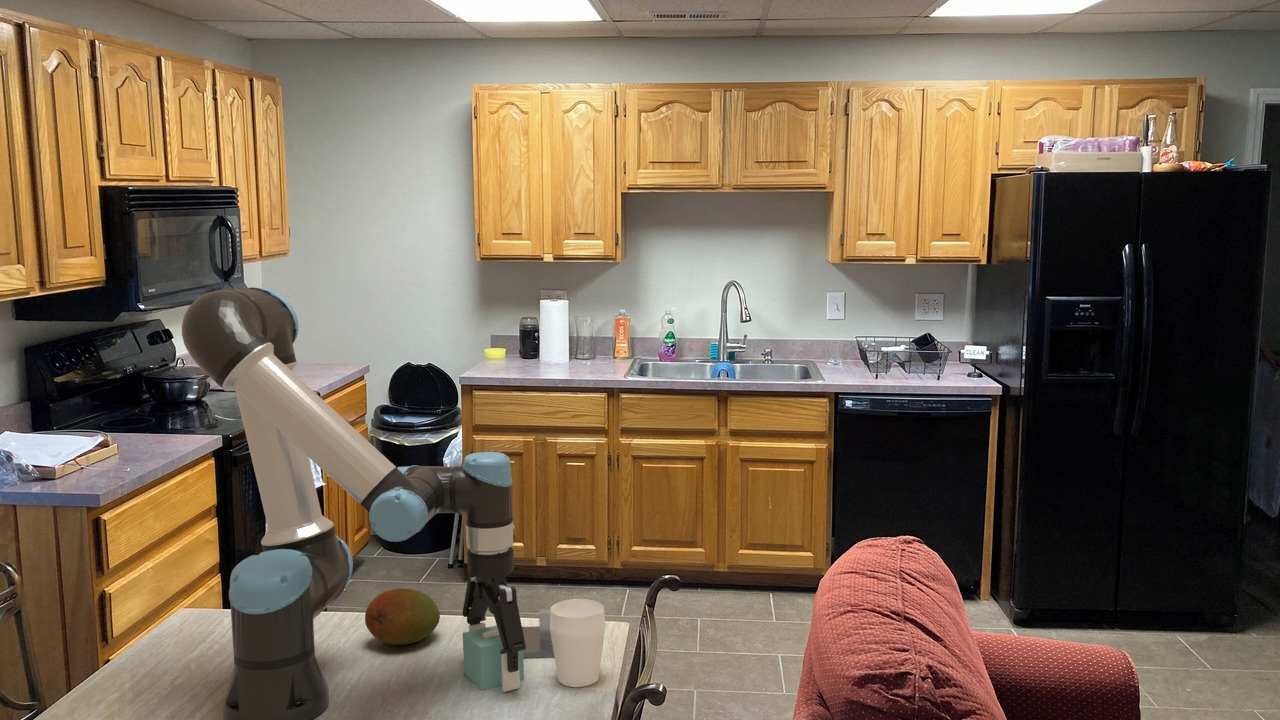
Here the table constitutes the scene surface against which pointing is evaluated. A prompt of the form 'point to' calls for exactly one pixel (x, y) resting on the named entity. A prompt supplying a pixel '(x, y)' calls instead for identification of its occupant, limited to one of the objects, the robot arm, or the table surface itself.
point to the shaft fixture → (539, 638)
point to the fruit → (401, 616)
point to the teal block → (485, 657)
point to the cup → (577, 640)
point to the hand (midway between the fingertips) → (494, 675)
